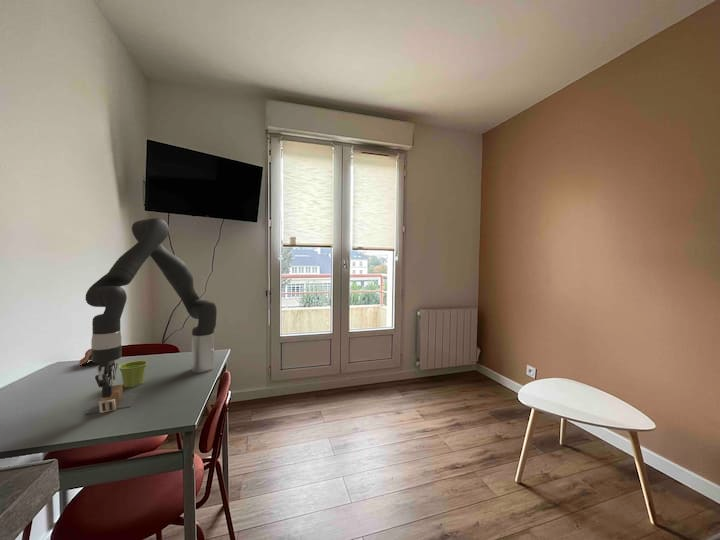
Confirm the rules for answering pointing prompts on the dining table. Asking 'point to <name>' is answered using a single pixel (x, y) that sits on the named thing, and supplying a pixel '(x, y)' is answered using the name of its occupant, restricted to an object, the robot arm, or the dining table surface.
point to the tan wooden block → (111, 399)
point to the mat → (123, 403)
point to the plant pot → (133, 373)
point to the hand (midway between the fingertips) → (107, 396)
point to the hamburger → (86, 357)
